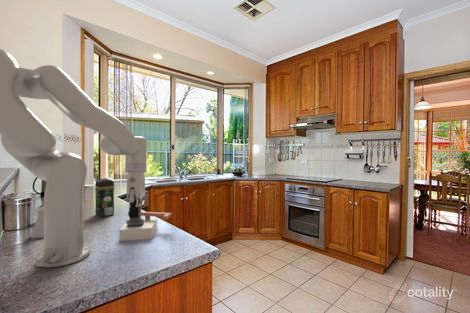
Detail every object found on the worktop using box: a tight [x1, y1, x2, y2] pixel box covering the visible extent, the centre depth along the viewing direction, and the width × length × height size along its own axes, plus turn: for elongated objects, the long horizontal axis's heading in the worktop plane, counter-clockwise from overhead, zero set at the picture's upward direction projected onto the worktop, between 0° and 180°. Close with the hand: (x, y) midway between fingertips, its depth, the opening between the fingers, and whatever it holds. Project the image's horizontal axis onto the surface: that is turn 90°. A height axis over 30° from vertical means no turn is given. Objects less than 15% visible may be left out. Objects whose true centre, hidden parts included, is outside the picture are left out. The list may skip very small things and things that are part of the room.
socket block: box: [118, 216, 158, 242], centre depth 89 cm, size 14×11×6 cm
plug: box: [126, 202, 144, 227], centre depth 87 cm, size 6×6×12 cm
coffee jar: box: [94, 177, 115, 218], centre depth 116 cm, size 10×8×19 cm
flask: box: [29, 209, 44, 239], centre depth 86 cm, size 7×7×10 cm
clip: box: [127, 210, 173, 220], centre depth 93 cm, size 18×6×2 cm, turn 83°
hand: (135, 215), depth 87 cm, fingers closed on plug, 4 cm apart
